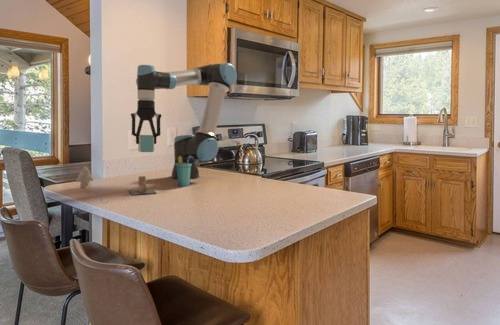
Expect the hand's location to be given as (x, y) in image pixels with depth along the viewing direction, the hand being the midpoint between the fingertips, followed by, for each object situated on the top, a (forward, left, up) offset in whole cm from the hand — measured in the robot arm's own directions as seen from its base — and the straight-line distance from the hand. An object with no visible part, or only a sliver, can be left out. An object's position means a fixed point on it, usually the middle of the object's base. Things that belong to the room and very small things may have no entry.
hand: (146, 151), depth 180 cm
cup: (-18, 0, -18) cm, 25 cm away
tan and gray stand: (+4, +9, -17) cm, 20 cm away
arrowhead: (+26, -13, -18) cm, 34 cm away
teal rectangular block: (0, 0, 0) cm, 0 cm away
